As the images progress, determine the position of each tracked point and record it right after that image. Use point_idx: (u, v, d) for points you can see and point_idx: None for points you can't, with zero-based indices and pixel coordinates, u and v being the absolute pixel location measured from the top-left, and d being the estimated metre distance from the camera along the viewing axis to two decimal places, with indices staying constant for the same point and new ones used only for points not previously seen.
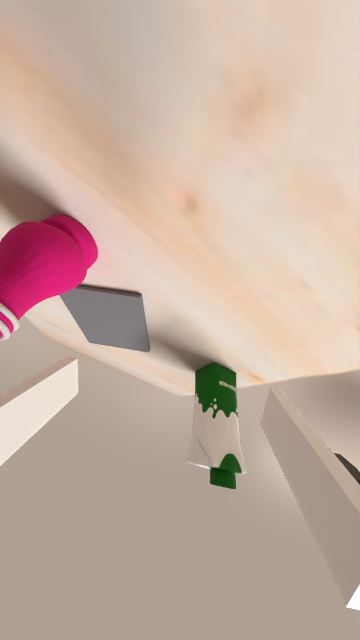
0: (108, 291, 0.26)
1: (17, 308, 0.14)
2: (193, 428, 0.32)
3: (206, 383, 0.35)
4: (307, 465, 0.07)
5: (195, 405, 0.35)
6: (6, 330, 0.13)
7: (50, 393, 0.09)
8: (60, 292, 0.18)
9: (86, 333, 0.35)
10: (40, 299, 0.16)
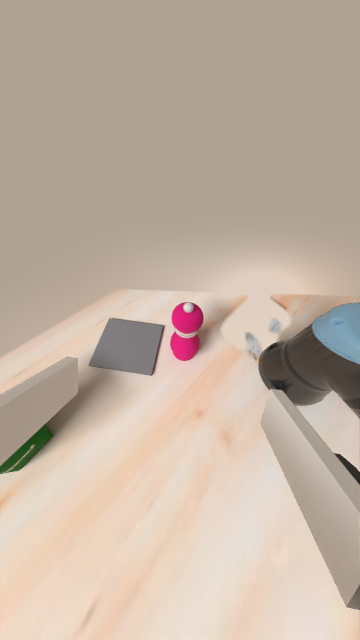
0: (156, 355, 0.43)
1: None
2: None
3: None
4: (307, 465, 0.07)
5: None
6: (181, 334, 0.32)
7: (50, 393, 0.09)
8: (175, 344, 0.38)
9: (120, 322, 0.48)
10: (179, 340, 0.36)
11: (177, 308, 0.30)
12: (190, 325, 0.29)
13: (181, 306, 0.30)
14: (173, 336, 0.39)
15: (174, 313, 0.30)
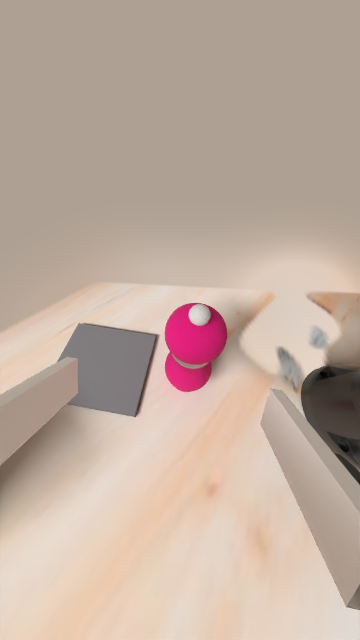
0: (143, 382, 0.28)
1: None
2: None
3: None
4: (307, 465, 0.07)
5: None
6: (183, 363, 0.17)
7: (50, 393, 0.09)
8: (173, 372, 0.23)
9: (94, 329, 0.33)
10: (179, 367, 0.21)
11: (176, 315, 0.15)
12: (203, 352, 0.14)
13: (184, 311, 0.15)
14: (169, 357, 0.24)
15: (170, 325, 0.15)
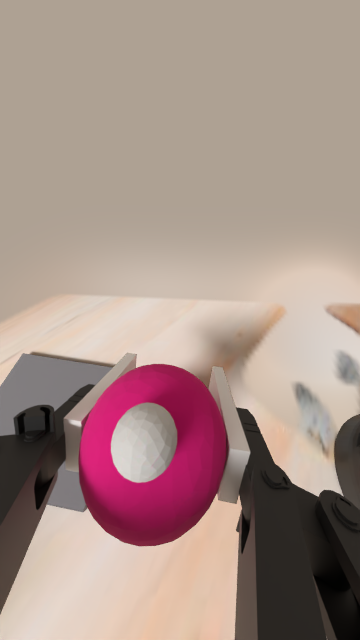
0: None
1: None
2: None
3: None
4: None
5: None
6: None
7: None
8: None
9: (43, 361, 0.24)
10: None
11: (100, 412, 0.06)
12: (160, 540, 0.05)
13: (119, 404, 0.06)
14: None
15: (83, 440, 0.06)
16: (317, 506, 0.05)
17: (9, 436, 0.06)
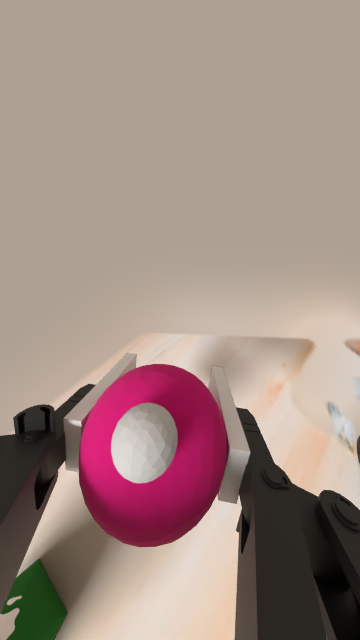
0: None
1: None
2: None
3: (41, 630, 0.18)
4: None
5: None
6: None
7: None
8: None
9: None
10: None
11: (100, 412, 0.06)
12: (161, 541, 0.05)
13: (119, 404, 0.06)
14: None
15: (83, 440, 0.06)
16: (317, 506, 0.05)
17: (9, 436, 0.06)
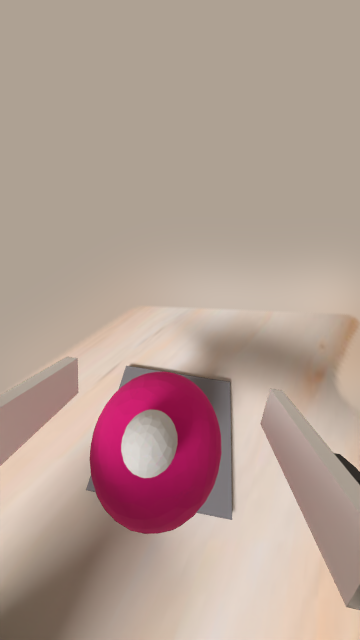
0: None
1: None
2: None
3: None
4: (307, 465, 0.07)
5: None
6: None
7: (50, 393, 0.09)
8: None
9: None
10: None
11: (109, 417, 0.07)
12: (163, 528, 0.06)
13: (126, 410, 0.07)
14: None
15: (94, 441, 0.07)
16: None
17: None
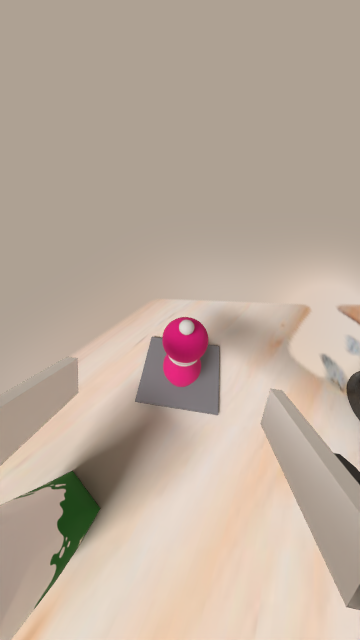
0: None
1: None
2: (26, 512, 0.16)
3: (84, 507, 0.22)
4: (307, 465, 0.07)
5: (53, 497, 0.19)
6: (176, 362, 0.23)
7: (50, 393, 0.09)
8: (169, 370, 0.28)
9: None
10: (174, 366, 0.26)
11: (170, 327, 0.20)
12: (190, 353, 0.19)
13: (176, 324, 0.20)
14: (166, 358, 0.29)
15: (166, 334, 0.20)
16: None
17: None
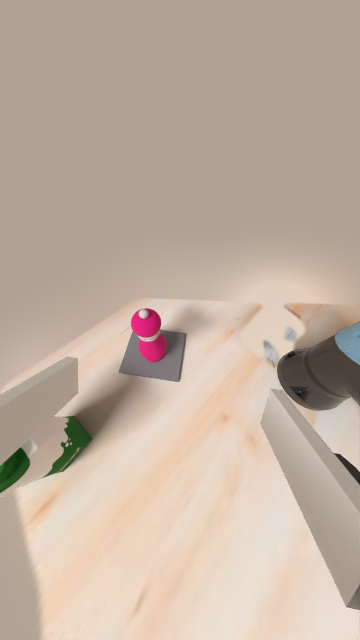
0: None
1: (145, 340, 0.37)
2: None
3: (80, 431, 0.34)
4: (307, 465, 0.07)
5: (61, 419, 0.31)
6: (141, 338, 0.35)
7: (50, 393, 0.09)
8: (141, 347, 0.40)
9: None
10: (143, 343, 0.38)
11: (135, 314, 0.33)
12: (146, 330, 0.31)
13: (138, 312, 0.32)
14: (140, 339, 0.41)
15: (132, 319, 0.32)
16: None
17: None
